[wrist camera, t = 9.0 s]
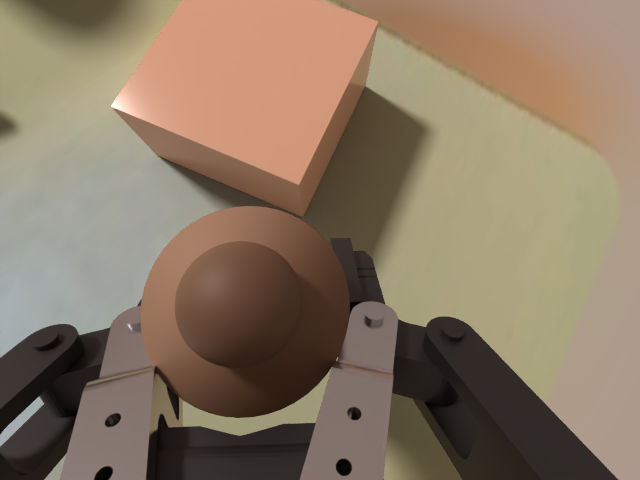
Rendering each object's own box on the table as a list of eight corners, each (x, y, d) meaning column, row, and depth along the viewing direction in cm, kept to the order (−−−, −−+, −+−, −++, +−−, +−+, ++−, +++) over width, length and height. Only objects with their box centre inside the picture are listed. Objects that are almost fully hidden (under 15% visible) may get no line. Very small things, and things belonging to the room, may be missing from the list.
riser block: (157, 155, 26) (110, 106, 20) (230, 34, 29) (208, -41, 23) (303, 217, 25) (298, 184, 19) (365, 85, 28) (378, 21, 22)
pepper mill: (220, 339, 17) (28, 372, 5) (261, 257, 18) (174, 135, 6) (303, 378, 16) (292, 504, 5) (340, 293, 17) (401, 232, 6)
